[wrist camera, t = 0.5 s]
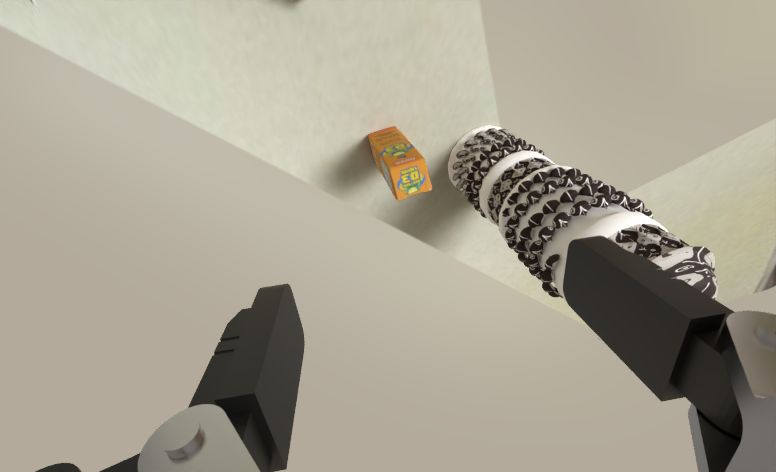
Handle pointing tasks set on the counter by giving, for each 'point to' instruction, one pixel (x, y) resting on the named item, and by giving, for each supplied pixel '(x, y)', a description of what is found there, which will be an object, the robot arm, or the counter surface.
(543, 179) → the decorative candle
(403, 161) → the supplement box
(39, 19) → the counter surface
